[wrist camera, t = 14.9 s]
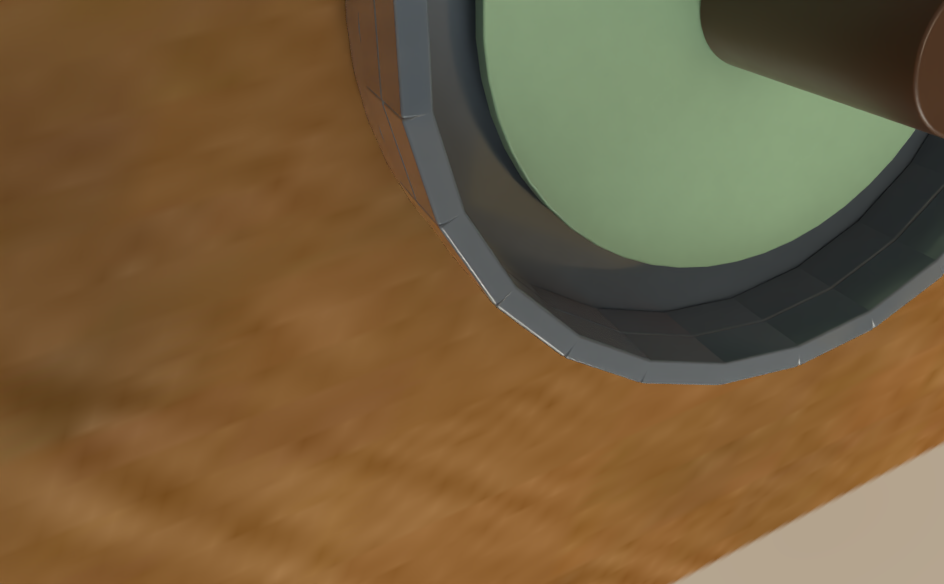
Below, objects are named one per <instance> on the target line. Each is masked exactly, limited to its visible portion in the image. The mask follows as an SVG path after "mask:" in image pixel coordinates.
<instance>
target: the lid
mask: <svg viewBox="0 0 944 584" xmlns="http://www.w3.org/2000/svg"><path fill="white" fill-rule="evenodd" d="M475 7H476V44H477V51H478V59H479V67H480V75H481V80H482V84H483V88H484V91H485V95H486V99H487V103H488V107H489V111H490V115H491V117H492V119H493V122H494V124H495V127H496V129H497V132H498V134H499V137H500V139H501V141H502V144H503V146H504V149H505V150H506V152H507V154H508V155H509V157H510V159H511V160H512V162H513V164H514V166H515V167H516V169H517V171H518V172H519V174H520V176H521V178H522V179H523V180H524V181H525V182H526V184H527V185H528V186H529V187H530V189H531V190H532V191H533V192H534V194H535V195H536V196H537V197H538V199H539V200H540V201H541V202H542V203H543V204H544V205H545V206H546V207H547V208H548V209H549V210H550V211H551V212H553V213H554V214H555V215H556V216H557V217H558V218H559V219H560V220H561V221H562V222H564V223H565V224H566V225H567V226H568V227H570V228H571V229H572V230H574V231H575V232H577V233H578V234H580V235H581V236H583V237H584V238H586V239H587V240H589V241H590V242H592V243H593V244H595V245H597V246H599V247H601V248H603V249H606V250H608V251H610V252H612V253H614V254H617V255H619V256H621V257H624V258H628V259H631V260H635V261H639V262H642V263H646V264H650V265H659V266H668V267H676V268H686V267H709V266H715V265H721V264H727V263H732V262H737V261H741V260H744V259H747V258H750V257H754V256H757V255H760V254H763V253H766V252H768V251H771V250H773V249H775V248H777V247H780V246H782V245H784V244H786V243H789V242H791V241H793V240H795V239H796V238H798V237H800V236H801V235H803V234H805V233H807V232H808V231H810V230H812V229H813V228H815V227H817V226H819V225H820V224H821V223H823V222H824V221H826V220H827V219H828V218H830V217H831V216H832V215H834V214H835V213H837V212H838V211H839V210H841V209H842V208H843V207H845V206H846V205H847V204H848V203H849V202H850V201H851V200H853V199H854V198H855V197H856V196H857V195H858V194H859V193H860V192H862V191H863V190H864V189H865V188H866V187H867V186H868V185H869V184H870V183H871V182H872V181H873V180H874V179H875V178H876V177H877V176H878V175H879V174H880V173H881V171H882V170H883V169H884V168H885V167H886V166H887V165H888V164H889V163H890V162H891V161H892V160H893V158H894V157H895V156H896V154H897V153H898V152H899V151H900V149H901V148H902V147H903V145H904V144H905V143H906V141H907V140H908V139H909V138H910V136H911V135H912V134H913V132H914V131H915V129H917V130H920V131H923V132H926V133H929V134H932V135H935V136H938V137H940V138H943V139H944V0H475Z"/></svg>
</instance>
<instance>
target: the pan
mask: <svg viewBox="0 0 944 584" xmlns="http://www.w3.org/2000/svg"><path fill="white" fill-rule="evenodd" d="M346 22H347V29H348V35H349V42H350V48H351V55H352V61H353V68H354V73H355V77H356V80H357V84H358V87H359V91H360V94H361V98H362V101H363V105H364V108H365V112H366V115H367V119H368V122H369V124H370V126H371V128H372V131H373V133H374V135H375V137H376V140H377V142H378V144H379V147H380V149H381V151H382V153H383V156H384V158H385V160H386V163H387V165H388V166H389V168H390V169H391V171H392V173H393V174H394V176H395V178H396V179H397V181H398V182H399V184H400V186H401V187H402V189H403V191H404V192H405V194H406V195H407V197H408V199H409V200H410V202H411V203H412V204H413V205H414V207H415V208H416V209H417V210H418V211H419V213H420V214H421V215H422V216H423V217H424V219H425V220H426V221H427V222H428V223H429V225H430V226H431V228H432V229H433V230H434V232H435V233H436V235H437V236H438V237H439V239H440V240H441V242H442V243H443V244H444V246H445V247H446V249H447V250H448V251H449V253H450V254H451V255H452V256H453V258H454V259H455V260H456V261H457V262H458V263H459V265H460V266H461V267H462V268H463V269H464V271H465V272H466V273H467V274H468V275H469V276H470V278H471V279H472V280H473V281H474V282H475V284H476V285H477V286H478V287H479V288H480V289H481V291H482V292H483V293H484V294H485V295H486V297H487V298H488V299H489V300H490V301H491V302H492V303H493V304H494V305H495V306H496V308H498V309H499V310H500V311H502V312H503V313H505V314H506V315H507V316H509V317H510V318H511V319H513V320H514V321H515V322H517V323H518V324H519V325H521V326H522V327H523V328H525V329H526V330H527V331H529V332H530V333H531V334H533V335H534V336H536V337H537V338H538V339H540V340H541V341H542V342H544V343H545V344H546V345H548V346H549V347H550V348H552V349H553V350H554V351H556V352H557V353H558V354H560V355H561V356H564V357H565V358H567V359H570V360H573V361H576V362H579V363H582V364H585V365H588V366H591V367H594V368H597V369H600V370H603V371H606V372H610V373H613V374H616V375H619V376H622V377H625V378H628V379H631V380H634V381H637V382H641V383H655V384H697V385H719V384H726V383H730V382H735V381H739V380H743V379H747V378H751V377H755V376H760V375H764V374H768V373H772V372H776V371H780V370H784V369H789V368H793V367H797V366H798V365H801V364H803V363H805V362H807V361H809V360H811V359H814V358H816V357H818V356H820V355H822V354H824V353H826V352H828V351H830V350H832V349H834V348H836V347H838V346H840V345H842V344H844V343H846V342H848V341H850V340H852V339H854V338H856V337H858V336H860V335H862V334H864V333H866V332H868V331H870V330H872V329H873V328H875V327H877V326H878V325H879V324H880V323H882V322H883V321H884V320H886V319H887V318H888V317H890V316H891V315H892V314H894V313H895V312H896V311H898V310H899V309H900V308H901V307H903V306H904V305H905V304H907V303H908V302H909V301H911V300H912V299H913V298H915V297H916V296H917V295H918V294H920V293H921V292H922V291H924V290H925V289H926V288H928V287H929V286H930V285H932V284H933V283H934V282H936V281H937V280H938V279H939V278H941V277H942V276H943V274H944V139H943V138H940V137H938V136H935V135H932V134H929V133H926V132H923V131H920V130H917V129H915V131H914V132H913V134H912V135H911V136H910V138H909V139H908V140H907V141H906V143H905V144H904V145H903V147H902V148H901V149H900V151H899V152H898V153H897V154H896V156H895V157H894V158H893V160H892V161H891V162H890V163H889V164H888V165H887V166H886V167H885V168H884V169H883V170H882V171H881V173H880V174H879V175H878V176H877V177H876V178H875V179H874V180H873V181H872V182H871V183H870V184H869V185H868V186H867V187H866V188H865V189H864V190H863V191H862V192H860V193H859V194H858V195H857V196H856V197H855V198H854V199H853V200H851V201H850V202H849V203H848V204H847V205H846V206H845V207H843V208H842V209H841V210H839V211H838V212H837V213H835V214H834V215H832V216H831V217H830V218H828V219H827V220H826V221H824V222H823V223H821V224H820V225H819V226H817V227H815V228H813V229H812V230H810V231H808V232H807V233H805V234H803V235H801V236H800V237H798V238H796V239H795V240H793V241H791V242H789V243H786V244H784V245H782V246H780V247H777V248H775V249H773V250H771V251H768V252H766V253H763V254H760V255H757V256H754V257H750V258H747V259H744V260H741V261H737V262H732V263H727V264H721V265H715V266H709V267H686V268H676V267H668V266H659V265H650V264H646V263H642V262H639V261H635V260H631V259H628V258H624V257H621V256H619V255H617V254H614V253H612V252H610V251H608V250H606V249H603V248H601V247H599V246H597V245H595V244H593V243H592V242H590V241H589V240H587V239H586V238H584V237H583V236H581V235H580V234H578V233H577V232H575V231H574V230H572V229H571V228H570V227H568V226H567V225H566V224H565V223H564V222H562V221H561V220H560V219H559V218H558V217H557V216H556V215H555V214H554V213H553V212H551V211H550V210H549V209H548V208H547V207H546V206H545V205H544V204H543V203H542V202H541V201H540V200H539V199H538V197H537V196H536V195H535V194H534V192H533V191H532V190H531V189H530V187H529V186H528V185H527V184H526V182H525V181H524V180H523V179H522V178H521V176H520V174H519V172H518V171H517V169H516V167H515V166H514V164H513V162H512V160H511V159H510V157H509V155H508V154H507V152H506V150H505V149H504V146H503V144H502V141H501V139H500V137H499V134H498V132H497V129H496V127H495V124H494V122H493V119H492V117H491V115H490V111H489V107H488V103H487V99H486V95H485V91H484V88H483V84H482V80H481V75H480V67H479V59H478V51H477V44H476V7H475V0H346Z"/></svg>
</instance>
